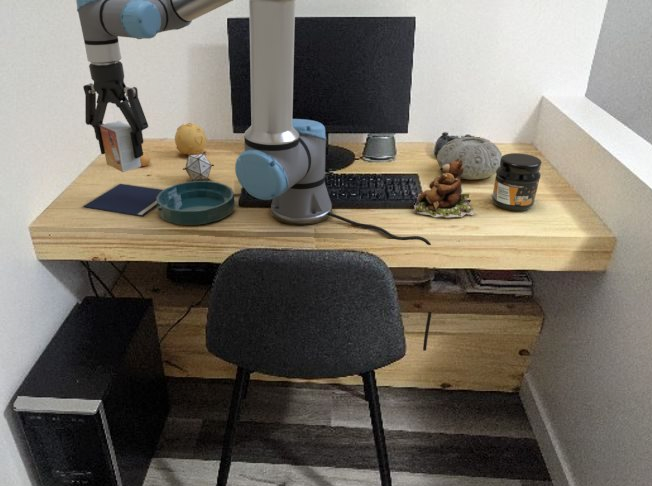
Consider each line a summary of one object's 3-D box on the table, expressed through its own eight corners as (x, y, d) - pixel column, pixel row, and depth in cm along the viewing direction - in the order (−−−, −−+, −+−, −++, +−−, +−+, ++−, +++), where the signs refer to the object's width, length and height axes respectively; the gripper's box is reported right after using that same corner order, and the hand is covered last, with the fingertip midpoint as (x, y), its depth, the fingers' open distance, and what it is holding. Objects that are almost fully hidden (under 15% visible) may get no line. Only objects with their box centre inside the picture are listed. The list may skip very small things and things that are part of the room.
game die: (205, 194, 159) (205, 175, 150) (177, 182, 159) (177, 163, 149) (217, 170, 163) (219, 151, 153) (191, 159, 162) (191, 139, 153)
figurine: (147, 170, 165) (140, 131, 159) (127, 170, 165) (120, 131, 159) (154, 161, 172) (148, 123, 166) (135, 161, 172) (128, 123, 166)
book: (175, 192, 151) (175, 191, 150) (142, 216, 138) (142, 215, 138) (120, 184, 156) (119, 183, 156) (83, 207, 143) (83, 205, 143)
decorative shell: (444, 186, 152) (448, 151, 147) (429, 163, 168) (432, 131, 162) (507, 184, 153) (514, 149, 148) (487, 162, 168) (492, 130, 163)
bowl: (246, 200, 146) (245, 185, 144) (213, 231, 131) (211, 216, 128) (183, 191, 152) (181, 177, 149) (143, 220, 136) (141, 205, 134)
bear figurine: (408, 196, 147) (413, 152, 141) (465, 197, 146) (472, 152, 140) (414, 218, 135) (419, 171, 129) (476, 219, 134) (484, 172, 128)
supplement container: (494, 211, 138) (502, 165, 132) (487, 194, 147) (495, 151, 141) (537, 213, 137) (548, 167, 131) (528, 196, 146) (538, 152, 140)
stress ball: (180, 149, 181) (176, 119, 176) (209, 149, 181) (206, 119, 176) (174, 160, 173) (169, 128, 168) (205, 159, 173) (201, 128, 168)
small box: (106, 165, 143) (98, 124, 137) (125, 159, 146) (118, 120, 141) (122, 172, 138) (114, 131, 132) (142, 167, 141) (135, 126, 136)
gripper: (154, 61, 128) (167, 154, 140) (77, 56, 135) (95, 145, 147) (136, 68, 122) (151, 164, 134) (55, 62, 129) (76, 154, 141)
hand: (122, 154), depth 140 cm, fingers closed on small box, 9 cm apart
